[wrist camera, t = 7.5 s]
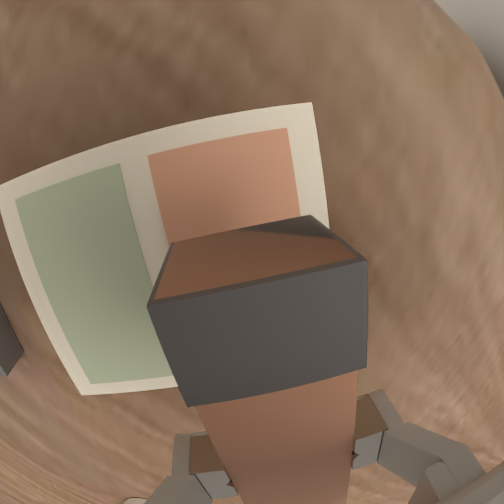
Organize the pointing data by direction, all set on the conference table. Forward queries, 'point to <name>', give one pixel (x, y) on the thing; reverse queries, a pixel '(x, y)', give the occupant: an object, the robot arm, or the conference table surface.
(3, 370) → the button base
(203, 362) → the terracotta marker
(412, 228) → the conference table surface
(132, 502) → the white cup
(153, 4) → the conference table surface
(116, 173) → the picture board
